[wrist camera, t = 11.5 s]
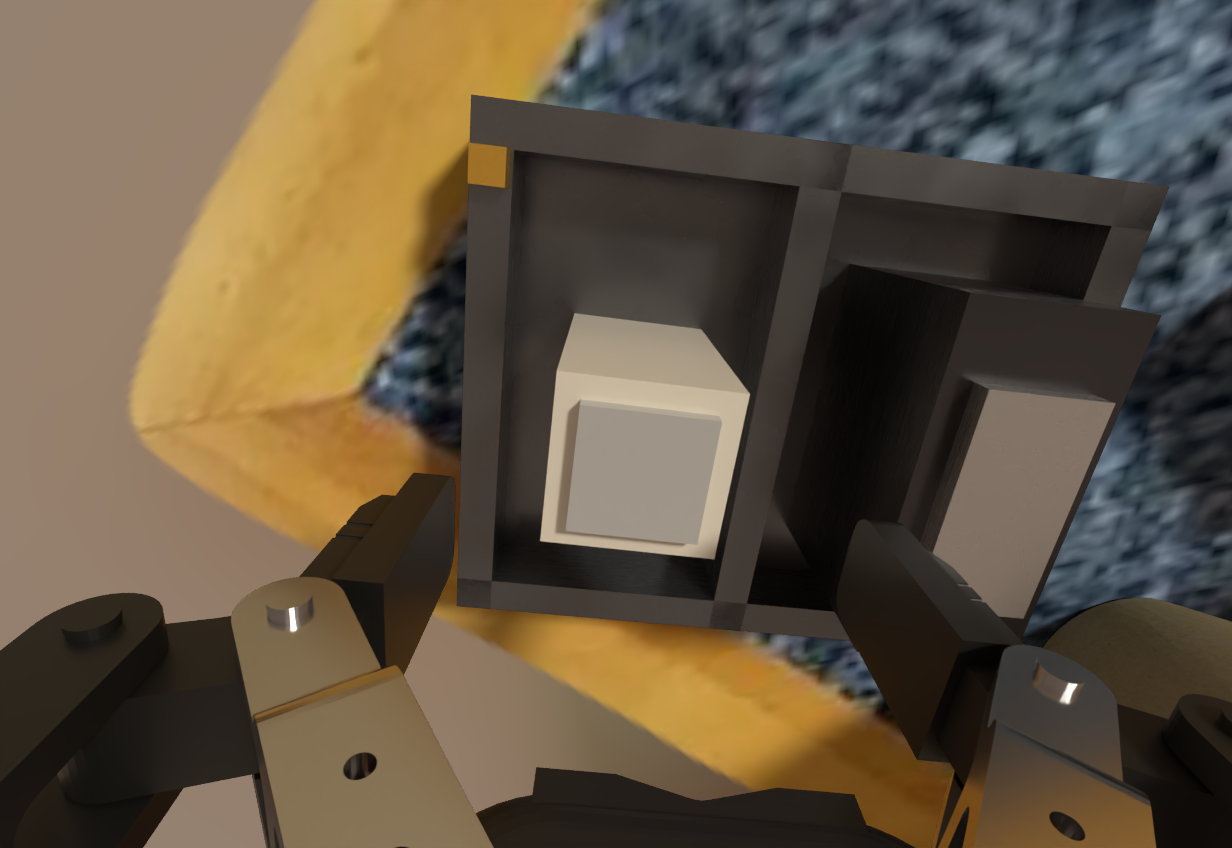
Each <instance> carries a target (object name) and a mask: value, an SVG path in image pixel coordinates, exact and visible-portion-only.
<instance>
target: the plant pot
mask: <svg viewBox="0 0 1232 848" xmlns="http://www.w3.org/2000/svg"><path fill="white" fill-rule="evenodd" d="M1043 648H1044V649H1047V650H1050V651H1053V652H1055V653H1058V654H1060V655H1062V656H1064V657H1067V658H1069V659H1071V660H1072V661H1074V662H1076V663H1078V664H1080V665H1081V666H1083V667H1084V668H1086V669H1087V670H1089V671H1090V672H1091V673H1093V674H1094V675H1095V676H1097V677H1098V678H1099V679H1100V680H1101V681H1102V682H1103V683H1104V684H1105V685H1106V686H1107V687H1108V688H1109V689H1110V691H1111V692H1112V693H1113V695H1114V697H1115V699H1116V703H1117V704H1120V705H1123V706H1126V707H1130V708H1133V709H1136V710H1140V711H1143V712H1146V713H1150V714H1153V715H1156V716H1160V717H1163V718H1166V719H1169V717H1170V715H1171V713H1172V711H1173V710H1174V708H1175V706H1176V704H1177V703H1178V701H1179V699H1180V698H1181V697H1182V696H1185V695H1188V694H1201V695H1207V696H1211V697H1215V698H1219V699H1222V700H1225V701H1228V702H1231V703H1232V622H1231V621H1228V620H1225V619H1222V618H1218V617H1215V616H1212V615H1209V614H1206V613H1202V612H1199V611H1196V610H1193V609H1189V608H1186V607H1183V606H1179V605H1176V604H1173V603H1169V602H1166V601H1162V600H1157V599H1152V598H1129V599H1121V600H1116V601H1112V602H1108V603H1104V604H1101V605H1098V606H1096V607H1093V608H1091V609H1089V610H1086V611H1085V612H1083V613H1081V614H1079V615H1078V616H1076V617H1074V618H1073V619H1071V620H1070V621H1068V622H1067V623H1066V624H1065V625H1063V626H1062V627H1061V628H1060V629H1058V630H1057V631H1056V632H1055V633H1054V635H1053V636H1052V637H1051V638H1050V639H1049V640H1048V641H1047V642H1046V644H1045V645H1044V647H1043Z"/></svg>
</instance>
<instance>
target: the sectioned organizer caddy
mask: <svg viewBox="0 0 1232 848" xmlns="http://www.w3.org/2000/svg"><path fill="white" fill-rule="evenodd" d="M468 183H469V190H468V225H467V261H466V297H465V332H464V368H463V403H462V439H461V474H460V510H459V545H458V581H457V606H462V607H473V608H485V609H496V610H508V611H519V612H531V613H542V614H554V615H565V616H577V617H588V618H600V619H611V620H622V621H634V622H645V623H657V624H668V625H680V626H691V627H703V628H714V629H726V630H737V631H748V632H760V633H771V634H783V635H794V636H806V637H817V638H829V639H840V640H851V642H852V644H853V646H854V648H855V649H856V651H857V652H859V651H858V649H857V647H856V645H855V644H854V642H853V640H852V638H851V636H850V634H849V632H848V631H847V629H846V627H845V625H844V623H843V621H842V620H841V617H840V615H839V611H838V606H837V589H838V584H839V580H840V577H841V573H842V570H843V566H844V563H845V559H846V556H847V552H848V549H849V545H850V542H851V538H852V535H853V531H854V528H855V526H856V524H857V523H858V522H859V521H860V520H863V519H866V520H876V521H886V522H895V523H901V524H903V525H904V526H905V527H906V528H907V529H908V530H909V531H910V532H911V533H912V534H913V536H914V537H915V538H916V539H917V540H918V541H919V542H920V543H921V544H922V546H923V547H924V548H925V549H926V550H928V551H930V552H931V553H933V554H934V555H936V556H937V557H939V558H940V559H942V560H943V561H945V562H946V563H948V564H949V565H951V566H952V567H953V568H954V569H955V570H956V571H957V572H958V573H959V574H960V575H961V576H962V578H963V579H964V580H965V581H966V582H967V583H968V587H971V588H973V589H974V591H975V592H976V593H977V594H978V595H979V596H980V597H981V598H982V602H986V603H987V605H988V606H989V607H990V608H991V609H992V610H993V611H994V612H995V613H996V614H997V615H998V616H999V617H1000V619H1001V620H1002V621H1003V622H1004V623H1005V624H1006V625H1007V626H1008V627H1009V628H1010V629H1011V630H1012V631H1013V633H1014V634H1015V635H1016V636H1017V637H1018V638H1019V639H1020V640H1021V639H1022V636H1023V634H1024V632H1025V629H1026V627H1027V625H1028V622H1029V620H1030V618H1031V616H1032V613H1033V611H1034V609H1035V606H1036V604H1037V602H1038V599H1039V597H1040V595H1041V592H1042V590H1043V588H1044V585H1045V583H1046V581H1047V579H1048V576H1049V574H1050V572H1051V569H1052V567H1053V565H1054V562H1055V560H1056V558H1057V555H1058V553H1059V551H1060V548H1061V546H1062V544H1063V542H1064V539H1065V537H1066V535H1067V532H1068V530H1069V528H1070V525H1071V523H1072V521H1073V518H1074V516H1075V514H1076V512H1077V509H1078V507H1079V505H1080V502H1081V500H1082V498H1083V495H1084V493H1085V491H1086V488H1087V486H1088V484H1089V481H1090V479H1091V477H1092V475H1093V472H1094V470H1095V468H1096V465H1097V463H1098V461H1099V458H1100V456H1101V454H1102V451H1103V449H1104V447H1105V444H1106V442H1107V440H1108V438H1109V435H1110V433H1111V431H1112V428H1113V426H1114V424H1115V421H1116V419H1117V417H1118V414H1119V412H1120V410H1121V408H1122V405H1123V403H1124V401H1125V398H1126V396H1127V394H1128V391H1129V389H1130V387H1131V384H1132V382H1133V380H1134V377H1135V375H1136V373H1137V371H1138V368H1139V366H1140V364H1141V361H1142V359H1143V357H1144V354H1145V352H1146V350H1147V347H1148V345H1149V343H1150V340H1151V338H1152V336H1153V334H1154V331H1155V329H1156V327H1157V324H1158V322H1159V320H1160V317H1161V315H1157V314H1152V313H1147V312H1142V311H1137V310H1132V309H1127V308H1122V307H1121V304H1122V302H1123V299H1124V297H1125V294H1126V292H1127V289H1128V287H1129V285H1130V282H1131V280H1132V277H1133V275H1134V272H1135V270H1136V267H1137V265H1138V262H1139V260H1140V257H1141V255H1142V253H1143V250H1144V248H1145V245H1146V243H1147V240H1148V238H1149V235H1150V233H1151V230H1152V228H1153V226H1154V223H1155V221H1156V218H1157V216H1158V213H1159V211H1160V208H1161V206H1162V203H1163V201H1164V199H1165V196H1166V194H1167V191H1168V189H1169V187H1168V186H1160V185H1153V184H1145V183H1137V182H1130V181H1122V180H1115V179H1107V178H1100V177H1092V176H1084V175H1077V174H1069V173H1062V172H1054V171H1046V170H1039V169H1031V168H1024V167H1016V166H1009V165H1001V164H993V163H986V162H978V161H971V160H963V159H955V158H948V157H940V156H933V155H925V154H917V153H910V152H902V151H895V150H887V149H880V148H872V147H864V146H857V145H849V144H842V143H834V142H826V141H819V140H811V139H804V138H796V137H788V136H781V135H773V134H766V133H758V132H751V131H743V130H735V129H728V128H720V127H713V126H705V125H697V124H690V123H682V122H675V121H667V120H660V119H652V118H644V117H637V116H629V115H622V114H614V113H606V112H599V111H591V110H584V109H576V108H568V107H561V106H553V105H546V104H538V103H531V102H523V101H515V100H508V99H500V98H493V97H485V96H477V95H471V119H470V143H469V147H468ZM574 313H577V314H585V315H592V316H600V317H608V318H616V319H624V320H632V321H640V322H648V323H656V324H663V325H671V326H679V327H687V328H695V329H701V330H702V331H703V332H704V334H705V335H706V336H707V338H708V339H709V340H710V342H711V343H712V344H713V346H714V347H715V348H716V350H717V351H718V352H719V354H720V355H721V356H722V358H723V359H724V360H725V362H726V363H727V364H728V366H729V367H730V368H731V369H732V371H733V372H734V373H735V375H736V376H737V377H738V379H739V380H740V381H741V383H742V384H743V385H744V387H745V388H746V389H747V391H748V392H749V393H750V397H749V401H748V406H747V410H746V415H745V420H744V424H743V429H742V433H741V438H740V443H739V447H738V452H737V457H736V461H735V466H734V470H733V475H732V480H731V484H730V489H729V493H728V498H727V503H726V507H725V512H724V517H723V521H722V526H721V530H720V535H719V540H718V544H717V549H716V554H715V558H714V559H706V558H696V557H687V556H677V555H668V554H658V553H649V552H639V551H630V550H620V549H611V548H601V547H591V546H582V545H572V544H563V543H553V542H544V541H540V538H541V527H542V517H543V507H544V497H545V486H546V476H547V466H548V456H549V445H550V435H551V425H552V415H553V404H554V394H555V384H556V374H557V368H558V365H559V362H560V359H561V355H562V352H563V349H564V346H565V343H566V339H567V336H568V333H569V330H570V326H571V323H572V320H573V317H574Z"/></svg>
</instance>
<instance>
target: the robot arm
mask: <svg viewBox="0 0 1232 848" xmlns="http://www.w3.org/2000/svg"><path fill="white" fill-rule="evenodd" d="M454 534H455V481H454V478H453V477H451V476H441V475H431V474H421V473H413V474H412V475H411V476H410V478H409V479H408V480H407V482H406V483H405V484H404V486H403V487H402V488H401V489H400V491H399V492H398V493H397V495H396V496H391V495H381V496H379V497H377V498H375V499H373V500H371V501H369V502H368V503H366V504H364V505H362V506H360V507H359V508H358V509H357V511H356V512H355V513H354V514H353V515H352V516H351V518H350V519H349V520H348V521H347V524H346V525H344V526H343V527H342V528H341V529H340V530H339V531H338V533H337V534H336V537H335V538H332V540H331V541H330V542H329V543H328V544H327V545H326V546H325V548H324V549H323V550H322V551H321V552H320V553H319V555H318V556H317V557H316V558H315V559H314V561H313V562H312V563H311V564H310V565H309V566H308V567H307V569H306V570H305V571H304V572H303V573H302V574H301V575H300V577H296V578H289V579H284V580H280V581H276V582H273V583H270V584H268V585H265V586H263V587H261V588H259V589H257V590H255V591H253V592H252V593H250V594H249V595H247V596H246V597H245V598H244V599H242V600H241V601H240V602H239V603H238V604H237V606H236V607H235V609H234V610H233V612H232V616H228V617H222V618H215V619H206V620H197V621H189V622H181V623H171V624H165V619H164V613H163V608H162V606H161V604H160V602H159V601H157V600H156V599H155V598H153V597H150V596H147V595H143V594H137V593H118V594H109V595H103V596H98V597H94V598H90V599H86V600H83V601H79V602H76V603H74V604H71V605H68V606H66V607H64V608H61V609H60V610H57V611H55V612H53V613H51V614H50V615H48V616H46V617H44V618H43V619H41V620H40V621H38V622H37V623H35V624H34V625H33V626H31V627H30V628H29V629H27V630H26V631H25V632H24V633H22V634H21V635H20V636H18V637H17V638H16V639H15V640H13V641H12V642H11V643H10V644H8V645H7V646H6V647H4V648H3V649H2V650H0V848H143V847H144V846H145V844H146V843H147V841H148V839H149V838H150V837H151V835H152V834H153V832H154V831H155V829H156V828H157V826H158V825H159V823H160V822H161V820H162V819H163V817H164V816H165V814H166V813H167V812H168V810H169V809H170V807H171V806H172V804H173V803H174V801H175V800H176V798H177V797H178V795H179V794H180V792H181V791H182V789H183V788H185V787H190V786H194V785H200V784H205V783H210V782H215V781H220V780H225V779H230V778H236V777H240V776H246V775H251V774H252V778H253V783H254V788H255V793H256V798H257V803H258V808H259V813H260V818H261V823H262V828H263V833H264V838H265V844H266V848H914V847H913V846H911V845H909V844H907V843H905V842H903V841H902V840H900V839H898V838H896V837H894V836H892V835H890V834H887V833H885V832H883V831H881V830H878V829H876V828H873V827H870V826H867V825H866V823H865V820H864V818H863V815H862V813H861V810H860V808H859V805H858V803H857V800H856V798H855V795H854V794H842V793H830V792H819V791H807V790H795V789H784V788H774V789H768V790H763V791H757V792H752V793H746V794H740V795H735V796H729V797H723V798H718V799H712V800H705V801H700V800H693V799H690V798H687V797H684V796H681V795H678V794H675V793H671V792H668V791H665V790H662V789H659V788H656V787H653V786H650V785H647V784H644V783H641V782H638V781H635V780H632V779H629V778H626V777H623V776H620V775H617V774H608V773H596V772H584V771H573V770H561V769H549V768H538V767H537V768H536V774H535V781H534V788H533V795H530V796H525V797H519V798H515V799H512V800H508V801H505V802H502V803H498V804H496V805H493V806H491V807H489V808H486V809H484V810H482V811H479V812H478V813H475V811H474V809H473V807H472V806H471V804H470V802H469V800H468V798H467V796H466V794H465V792H464V790H463V788H462V786H461V785H460V783H459V781H458V779H457V777H456V775H455V773H454V771H453V769H452V767H451V766H450V764H449V762H448V760H447V758H446V756H445V754H444V752H443V750H442V749H441V746H440V744H439V742H438V740H437V739H436V737H435V735H434V733H433V731H432V729H431V727H430V725H429V723H428V721H427V719H426V718H425V716H424V714H423V712H422V710H421V708H420V706H419V704H418V702H417V700H416V699H415V696H414V694H413V693H412V691H411V689H410V687H409V685H408V683H407V681H406V679H405V677H404V673H405V671H406V669H407V667H408V665H409V663H410V660H411V658H412V656H413V654H414V652H415V649H416V647H417V645H418V643H419V641H420V639H421V636H422V634H423V632H424V630H425V628H426V625H427V623H428V621H429V619H430V617H431V615H432V612H433V610H434V608H435V606H436V604H437V602H438V599H439V597H440V595H441V593H442V591H443V589H444V586H445V584H446V582H447V580H448V577H449V574H450V571H451V567H452V562H453V555H454ZM837 606H838V611H839V615H840V617H841V620H842V621H843V623H844V625H845V627H846V629H847V631H848V632H849V634H850V636H851V638H852V640H853V642H854V644H855V645H856V647H857V649H858V651H859V653H860V655H861V657H862V658H863V660H864V662H865V664H866V666H867V668H868V670H869V671H870V673H871V675H872V677H873V679H874V681H875V682H876V684H877V686H878V688H879V690H880V692H881V694H882V695H883V697H884V699H885V701H886V703H887V705H888V707H889V708H890V710H891V712H892V714H893V716H894V718H895V720H896V721H897V723H898V725H899V727H900V729H901V731H902V733H903V734H904V736H905V738H906V740H907V742H908V744H909V745H910V747H911V749H912V751H913V753H914V755H915V757H916V758H917V760H925V761H936V762H948V763H951V765H952V767H953V768H954V771H953V774H952V776H951V778H950V781H949V783H948V786H947V788H946V792H945V796H944V800H943V804H942V808H941V812H940V815H939V819H938V823H937V827H936V831H935V835H934V839H933V842H932V846H931V848H1232V703H1231V702H1228V701H1225V700H1222V699H1219V698H1215V697H1211V696H1207V695H1201V694H1188V695H1185V696H1182V697H1181V698H1180V699H1179V701H1178V703H1177V704H1176V706H1175V708H1174V710H1173V711H1172V713H1171V715H1170V717H1169V719H1166V718H1163V717H1160V716H1156V715H1153V714H1150V713H1146V712H1143V711H1140V710H1136V709H1133V708H1130V707H1126V706H1123V705H1120V704H1117V703H1116V699H1115V697H1114V695H1113V693H1112V692H1111V691H1110V689H1109V688H1108V687H1107V686H1106V685H1105V684H1104V683H1103V682H1102V681H1101V680H1100V679H1099V678H1098V677H1097V676H1095V675H1094V674H1093V673H1091V672H1090V671H1089V670H1087V669H1086V668H1084V667H1083V666H1081V665H1080V664H1078V663H1076V662H1074V661H1072V660H1071V659H1069V658H1067V657H1064V656H1062V655H1060V654H1058V653H1055V652H1053V651H1050V650H1047V649H1044V648H1040V647H1036V646H1031V645H1025V644H1024V643H1023V642H1022V641H1021V640H1020V639H1019V638H1018V637H1017V636H1016V635H1015V634H1014V633H1013V631H1012V630H1011V629H1010V628H1009V627H1008V626H1007V625H1006V624H1005V623H1004V622H1003V621H1002V620H1001V619H1000V617H999V616H998V615H997V614H996V613H995V612H994V611H993V610H992V609H991V608H990V607H989V606H988V605H987V603H986V602H982V598H981V597H980V596H979V595H978V594H977V593H976V592H975V591H974V589H973V588H971V587H968V583H967V582H966V581H965V580H964V579H963V578H962V576H961V575H960V574H959V573H958V572H957V571H956V570H955V569H954V568H953V567H952V566H951V565H949V564H948V563H946V562H945V561H943V560H942V559H940V558H939V557H937V556H936V555H934V554H933V553H931V552H930V551H928V550H926V549H925V548H924V547H923V546H922V544H921V543H920V542H919V541H918V540H917V539H916V538H915V537H914V536H913V534H912V533H911V532H910V531H909V530H908V529H907V528H906V527H905V526H904V525H903V524H901V523H895V522H886V521H876V520H866V519H863V520H860V521H859V522H858V523H857V524H856V526H855V528H854V531H853V535H852V538H851V542H850V545H849V549H848V552H847V556H846V559H845V563H844V566H843V570H842V573H841V577H840V580H839V584H838V589H837Z"/></svg>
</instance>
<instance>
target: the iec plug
mask: <svg viewBox="0 0 1232 848" xmlns="http://www.w3.org/2000/svg"><path fill="white" fill-rule="evenodd" d="M749 397H750V393H749V392H748V391H747V389H746V388H745V387H744V385H743V384H742V383H741V381H740V380H739V379H738V377H737V376H736V375H735V373H734V372H733V371H732V369H731V368H730V367H729V366H728V364H727V363H726V362H725V360H724V359H723V358H722V356H721V355H720V354H719V352H718V351H717V350H716V348H715V347H714V346H713V344H712V343H711V342H710V340H709V339H708V338H707V336H706V335H705V334H704V332H703V331H702V330H701V329H695V328H687V327H679V326H671V325H663V324H656V323H648V322H640V321H632V320H624V319H616V318H608V317H600V316H592V315H585V314H577V313H574V317H573V320H572V323H571V326H570V330H569V333H568V336H567V339H566V343H565V346H564V349H563V352H562V355H561V359H560V362H559V365H558V368H557V374H556V384H555V394H554V404H553V415H552V425H551V435H550V445H549V456H548V466H547V476H546V486H545V497H544V507H543V517H542V527H541V538H540V541H544V542H553V543H563V544H572V545H582V546H591V547H601V548H611V549H620V550H630V551H639V552H649V553H658V554H668V555H677V556H687V557H696V558H706V559H714V558H715V554H716V549H717V544H718V540H719V535H720V530H721V526H722V521H723V517H724V512H725V507H726V503H727V498H728V493H729V489H730V484H731V480H732V475H733V470H734V466H735V461H736V457H737V452H738V447H739V443H740V438H741V433H742V429H743V424H744V420H745V415H746V410H747V406H748V401H749Z"/></svg>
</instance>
